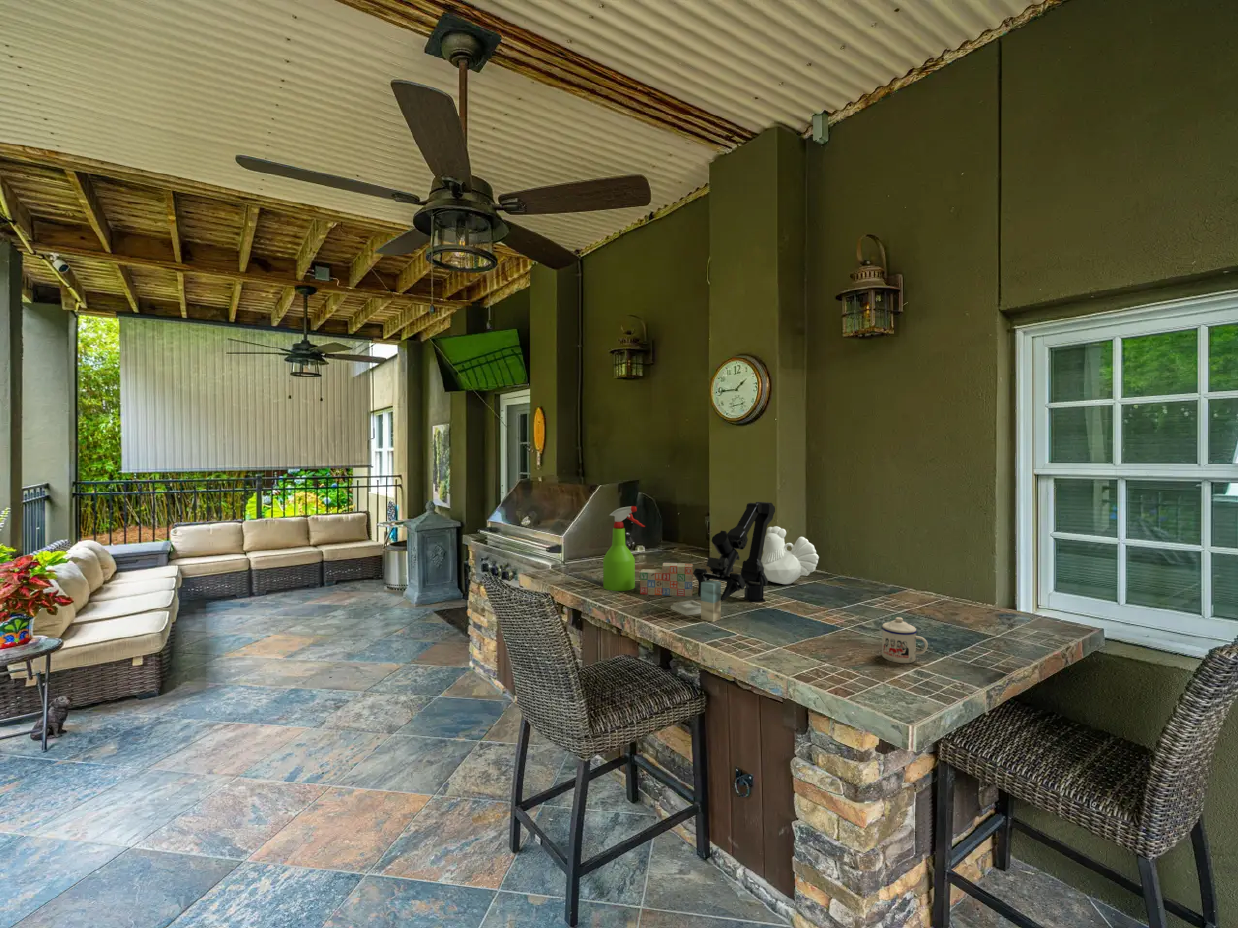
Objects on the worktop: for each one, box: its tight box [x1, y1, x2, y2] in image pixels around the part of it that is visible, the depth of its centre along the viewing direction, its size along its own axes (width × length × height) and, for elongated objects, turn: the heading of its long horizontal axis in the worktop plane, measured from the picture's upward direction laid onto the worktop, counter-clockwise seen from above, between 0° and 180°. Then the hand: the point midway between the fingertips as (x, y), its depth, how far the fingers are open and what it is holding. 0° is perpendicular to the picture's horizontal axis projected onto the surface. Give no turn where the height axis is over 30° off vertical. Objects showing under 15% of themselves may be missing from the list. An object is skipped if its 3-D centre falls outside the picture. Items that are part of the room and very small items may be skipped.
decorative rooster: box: [761, 525, 820, 585], centre depth 263 cm, size 25×16×25 cm, turn 44°
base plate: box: [670, 599, 701, 616], centre depth 222 cm, size 10×10×2 cm
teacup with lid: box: [881, 616, 929, 664], centre depth 171 cm, size 12×9×12 cm
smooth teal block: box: [700, 579, 722, 623], centre depth 211 cm, size 5×5×13 cm
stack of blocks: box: [639, 562, 694, 597], centre depth 247 cm, size 21×6×12 cm, turn 81°
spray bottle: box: [602, 505, 646, 592], centre depth 257 cm, size 14×18×35 cm
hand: (710, 598), depth 210 cm, fingers open, 9 cm apart
